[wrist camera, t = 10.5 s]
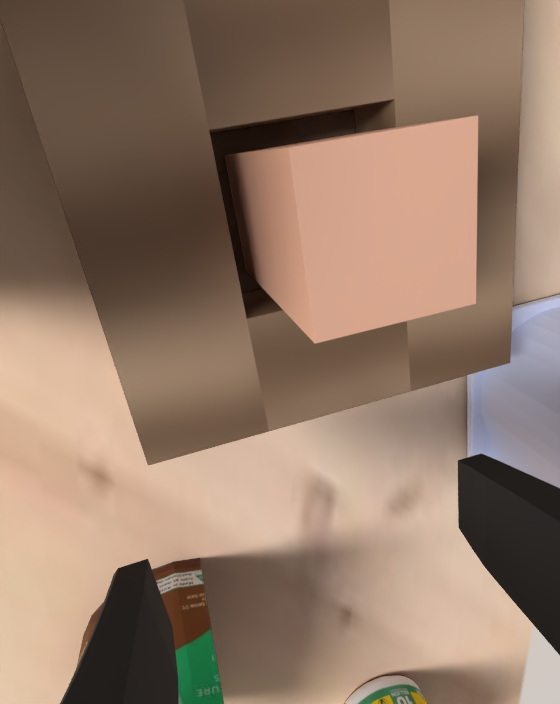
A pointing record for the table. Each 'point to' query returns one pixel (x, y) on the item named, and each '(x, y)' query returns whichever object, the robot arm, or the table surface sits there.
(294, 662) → the table surface
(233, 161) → the terracotta peg
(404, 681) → the supplement bottle
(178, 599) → the food container
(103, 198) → the walnut stand board
